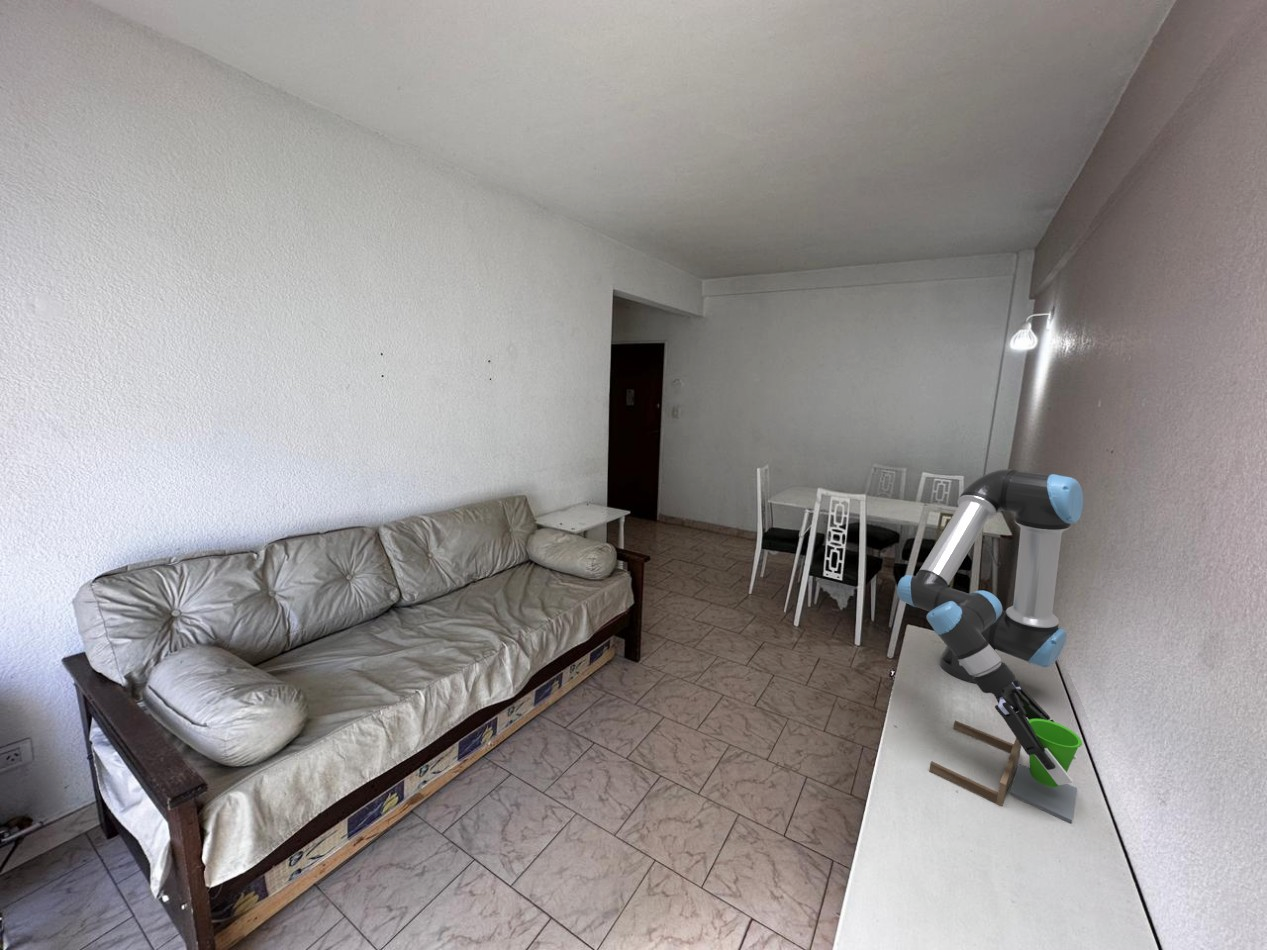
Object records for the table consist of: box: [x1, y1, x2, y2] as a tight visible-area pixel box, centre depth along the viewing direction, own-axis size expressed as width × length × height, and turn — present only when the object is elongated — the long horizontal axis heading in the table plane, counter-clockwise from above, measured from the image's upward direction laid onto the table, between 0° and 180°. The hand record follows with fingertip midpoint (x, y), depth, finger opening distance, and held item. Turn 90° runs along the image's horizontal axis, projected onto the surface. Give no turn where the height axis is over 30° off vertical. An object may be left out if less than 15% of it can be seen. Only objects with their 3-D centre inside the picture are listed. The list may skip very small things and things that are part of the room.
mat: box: [1009, 763, 1078, 824], centre depth 107 cm, size 12×10×1 cm
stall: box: [929, 720, 1022, 807], centre depth 115 cm, size 22×14×5 cm, turn 135°
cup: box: [1027, 719, 1083, 787], centre depth 106 cm, size 9×9×11 cm
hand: (1067, 770), depth 104 cm, fingers closed on cup, 9 cm apart
